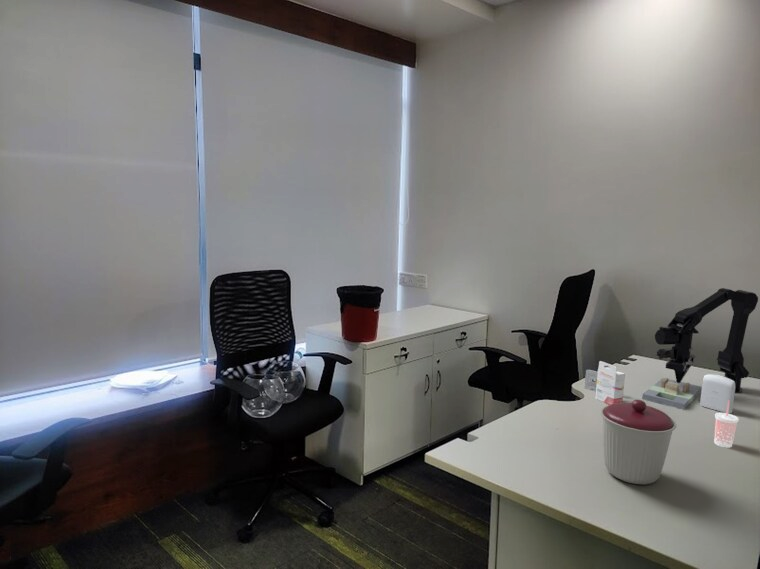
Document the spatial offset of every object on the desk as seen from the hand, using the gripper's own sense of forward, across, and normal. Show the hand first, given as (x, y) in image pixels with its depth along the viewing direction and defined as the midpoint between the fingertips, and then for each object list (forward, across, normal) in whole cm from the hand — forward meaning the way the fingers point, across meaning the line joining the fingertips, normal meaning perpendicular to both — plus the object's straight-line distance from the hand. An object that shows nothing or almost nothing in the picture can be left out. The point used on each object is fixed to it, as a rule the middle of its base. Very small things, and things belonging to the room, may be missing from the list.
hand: (678, 382), depth 209 cm
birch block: (+1, +9, 0) cm, 9 cm away
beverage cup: (+3, +42, +23) cm, 48 cm away
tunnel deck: (+3, +7, 0) cm, 8 cm away
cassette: (+4, +24, -21) cm, 32 cm away
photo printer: (+4, +11, +15) cm, 19 cm away
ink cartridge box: (+3, +32, -15) cm, 35 cm away
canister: (+3, +82, +9) cm, 83 cm away
